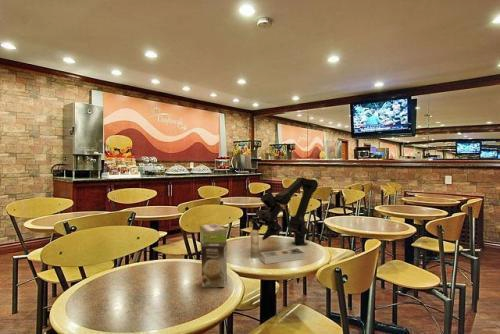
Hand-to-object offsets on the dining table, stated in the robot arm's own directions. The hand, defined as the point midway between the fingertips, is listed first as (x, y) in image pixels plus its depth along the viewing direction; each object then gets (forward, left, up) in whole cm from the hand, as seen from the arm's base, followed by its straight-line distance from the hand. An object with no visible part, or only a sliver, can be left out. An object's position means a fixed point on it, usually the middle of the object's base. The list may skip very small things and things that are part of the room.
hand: (257, 237), depth 148 cm
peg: (+1, -1, -9) cm, 9 cm away
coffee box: (+28, -26, -9) cm, 39 cm away
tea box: (-9, -21, -9) cm, 25 cm away
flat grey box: (+9, +10, -9) cm, 16 cm away
